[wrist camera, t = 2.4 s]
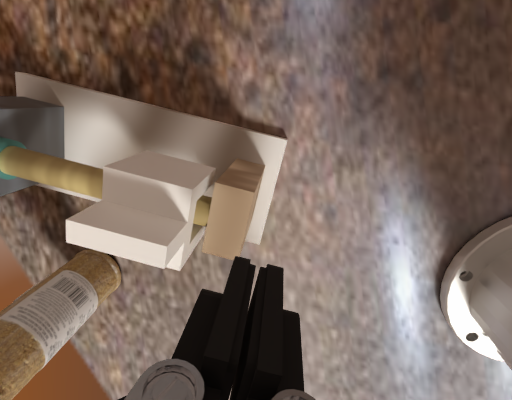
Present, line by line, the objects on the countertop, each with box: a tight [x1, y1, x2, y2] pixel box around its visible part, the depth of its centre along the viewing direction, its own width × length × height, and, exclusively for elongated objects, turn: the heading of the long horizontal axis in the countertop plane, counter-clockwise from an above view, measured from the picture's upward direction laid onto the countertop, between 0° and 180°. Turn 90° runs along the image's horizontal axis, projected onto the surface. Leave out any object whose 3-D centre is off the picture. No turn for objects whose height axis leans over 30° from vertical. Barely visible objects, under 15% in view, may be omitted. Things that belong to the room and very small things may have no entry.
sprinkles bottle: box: [0, 249, 121, 400], centre depth 19 cm, size 5×5×14 cm
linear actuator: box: [0, 72, 287, 260], centre depth 17 cm, size 19×8×9 cm, turn 77°
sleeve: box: [66, 150, 216, 271], centre depth 14 cm, size 4×4×6 cm
